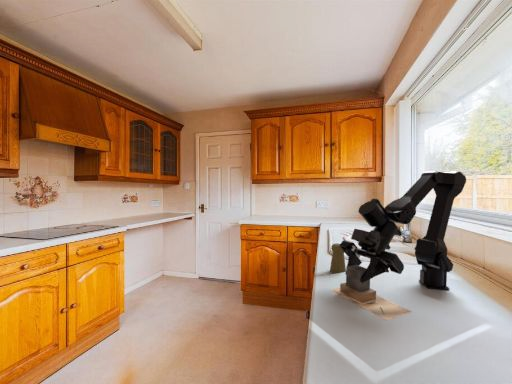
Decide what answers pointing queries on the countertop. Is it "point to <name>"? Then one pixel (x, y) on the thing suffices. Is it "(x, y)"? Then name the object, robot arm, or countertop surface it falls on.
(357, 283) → the sanding block
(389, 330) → the countertop surface
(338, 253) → the cork
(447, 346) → the countertop surface
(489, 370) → the countertop surface
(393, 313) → the pine board
